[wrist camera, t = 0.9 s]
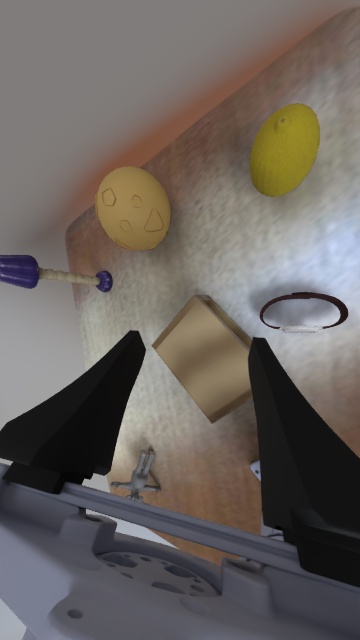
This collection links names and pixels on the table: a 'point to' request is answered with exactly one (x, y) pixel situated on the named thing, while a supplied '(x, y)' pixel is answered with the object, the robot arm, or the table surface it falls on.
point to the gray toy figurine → (139, 478)
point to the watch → (307, 295)
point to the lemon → (284, 150)
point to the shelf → (208, 356)
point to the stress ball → (133, 208)
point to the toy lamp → (44, 273)
